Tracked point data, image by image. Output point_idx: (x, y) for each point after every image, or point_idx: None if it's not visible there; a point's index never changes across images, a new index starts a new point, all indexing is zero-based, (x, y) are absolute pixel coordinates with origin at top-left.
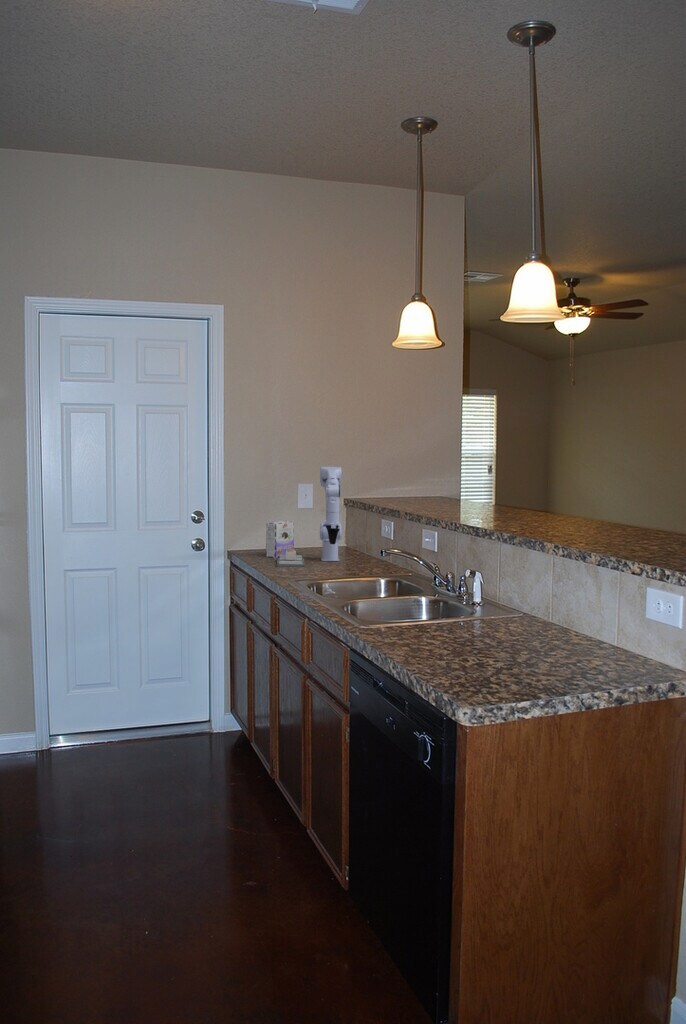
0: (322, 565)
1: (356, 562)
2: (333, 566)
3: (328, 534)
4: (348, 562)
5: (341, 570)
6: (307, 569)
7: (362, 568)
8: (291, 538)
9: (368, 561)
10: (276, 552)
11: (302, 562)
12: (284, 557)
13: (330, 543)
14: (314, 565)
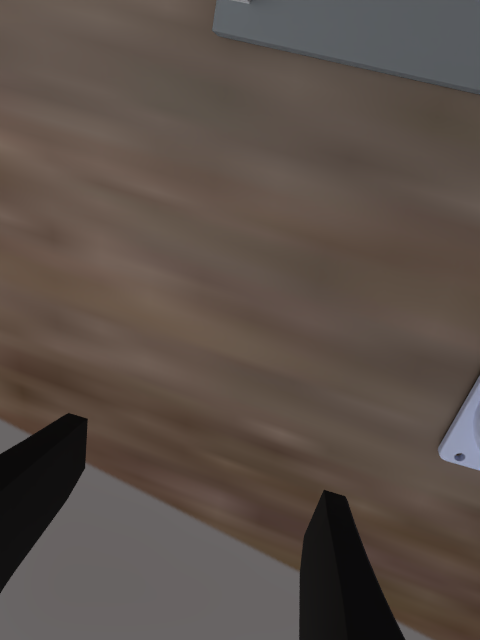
0: (261, 252)
1: None
2: (195, 325)
3: (339, 602)
4: (367, 489)
5: (13, 319)
6: (39, 26)
7: (98, 467)
8: None
9: None
10: None
11: (349, 29)
12: None
13: (59, 419)
14: (275, 173)
